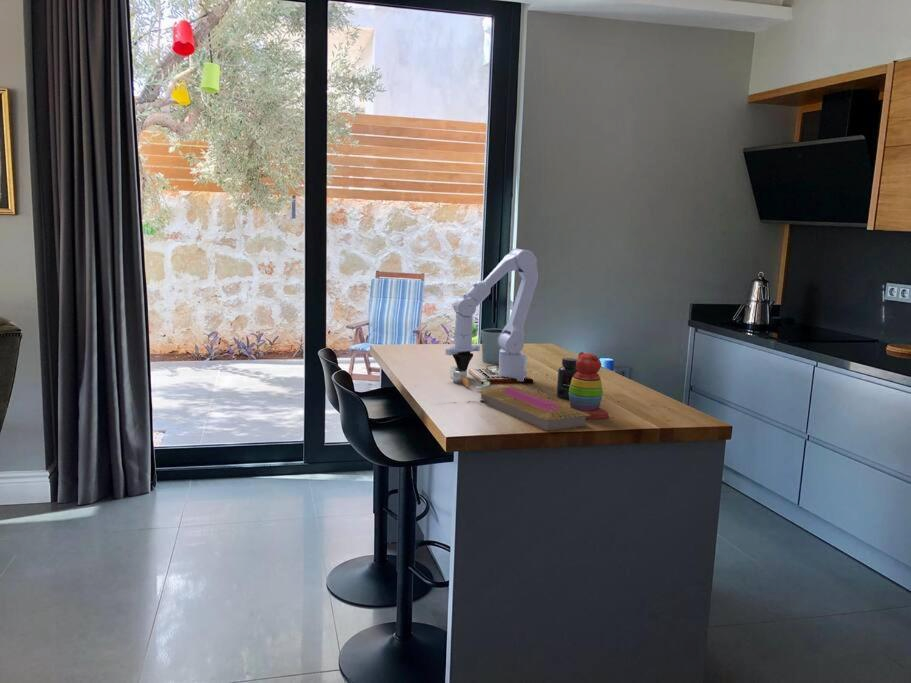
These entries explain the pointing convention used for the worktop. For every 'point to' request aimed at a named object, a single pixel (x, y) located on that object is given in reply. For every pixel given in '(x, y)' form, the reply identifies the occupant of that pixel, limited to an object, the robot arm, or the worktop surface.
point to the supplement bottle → (565, 377)
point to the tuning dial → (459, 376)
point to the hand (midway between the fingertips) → (462, 374)
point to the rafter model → (529, 400)
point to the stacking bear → (587, 387)
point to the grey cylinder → (490, 345)
